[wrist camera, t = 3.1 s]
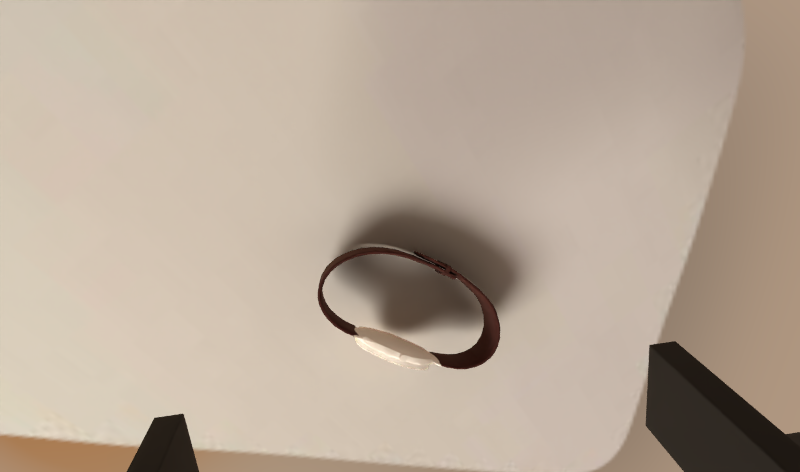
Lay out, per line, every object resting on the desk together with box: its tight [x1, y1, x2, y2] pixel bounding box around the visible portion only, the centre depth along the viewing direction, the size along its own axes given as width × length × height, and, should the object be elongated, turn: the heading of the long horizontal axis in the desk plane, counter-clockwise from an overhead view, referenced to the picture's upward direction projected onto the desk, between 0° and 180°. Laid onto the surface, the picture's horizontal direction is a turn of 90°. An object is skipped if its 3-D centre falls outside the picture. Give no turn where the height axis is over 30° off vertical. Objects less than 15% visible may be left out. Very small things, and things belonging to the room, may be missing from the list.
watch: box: [318, 247, 500, 370], centre depth 22 cm, size 8×5×4 cm, turn 67°
